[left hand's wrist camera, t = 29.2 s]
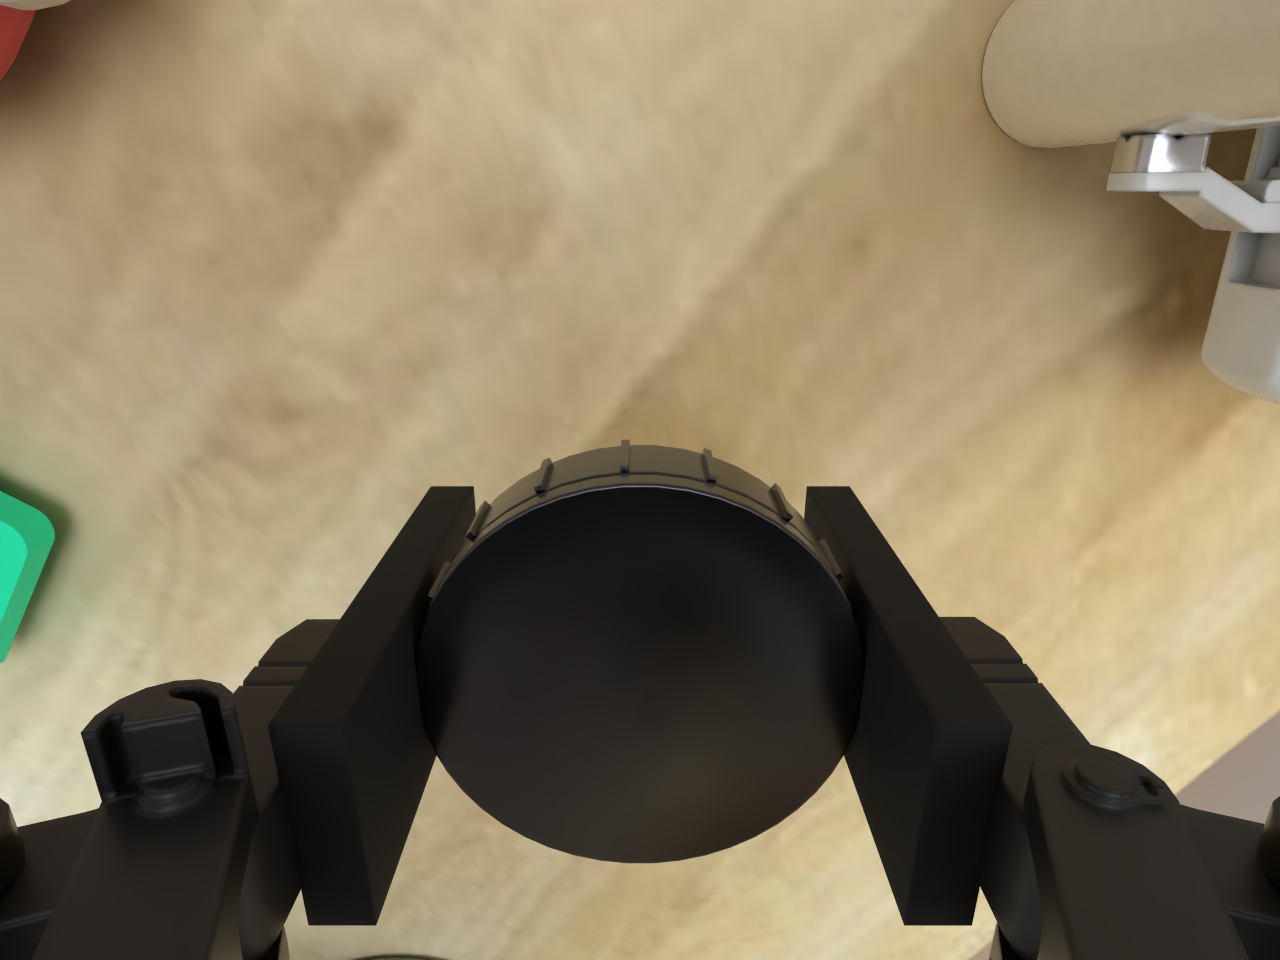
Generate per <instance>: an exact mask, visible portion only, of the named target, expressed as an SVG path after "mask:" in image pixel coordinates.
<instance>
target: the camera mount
mask: <svg viewBox="0 0 1280 960" xmlns="http://www.w3.org/2000/svg"><path fill="white" fill-rule="evenodd" d="M54 539H55V532H54V528H53V526H52V524H51V522H50V520H49V519H48V518H47V517H46V516H45V515H44V514H43V513H42V512H40V511H39V510H37V509H36V508H34V507H32V506H30V505H28V504H26V503H24V502H22V501H20V500H18V499H16V498H13V497H11V496H9V495H7V494H5V493H3V492H1V491H0V663H2V662H3V661H4V660H5V659H6V656H7V654H8V651H9V649H10V647H11V644H12V642H13V639H14V637H15V634H16V632H17V630H18V627H19V625H20V622H21V620H22V618H23V615H24V613H25V610H26V608H27V605H28V603H29V601H30V598H31V596H32V593H33V591H34V588H35V586H36V584H37V581H38V579H39V576H40V574H41V572H42V569H43V567H44V564H45V562H46V559H47V557H48V555H49V552H50V550H51V547H52V545H53V542H54Z"/></svg>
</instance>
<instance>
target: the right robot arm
mask: <svg viewBox="0 0 1280 960" xmlns="http://www.w3.org/2000/svg"><path fill="white" fill-rule="evenodd" d="M1211 136H1212V134H1195V135H1184V136H1172V135H1164V134H1151V135H1136V136H1132V137H1117V139H1116V143H1115V148H1114V153H1113V157H1112V162H1111V167H1110V171H1109V173H1110V174H1109V176H1108V182H1107V187H1106V191H1146V192H1156V191H1160V192H1159V196H1160V197H1161V198H1163V199H1164V200H1166V201H1167V202H1168V203H1170V204H1171V205H1172V206H1174V207H1175V208H1176V209H1178V210H1179V211H1180V212H1182V213H1183V214H1184V215H1186V216H1187V217H1188V218H1190V219H1191V220H1192V221H1194V222H1195V223H1197V224H1198V225H1199V226H1201V227H1202V228H1203V229H1210V230H1224V231H1231V235H1230V239H1229V243H1228V247H1227V251H1226V255H1225V259H1224V263H1223V267H1222V271H1221V275H1220V279H1219V283H1218V287H1217V291H1216V295H1215V299H1214V303H1213V307H1212V311H1211V315H1210V319H1209V323H1208V327H1207V331H1206V334H1205V338H1204V342H1203V346H1202V351H1201V360H1202V363H1203V365H1204V366H1205V367H1206V368H1207V369H1208V370H1209V371H1210V372H1211V373H1212V374H1213V375H1214V376H1215V377H1216V378H1217V379H1218V380H1219V381H1220V382H1222V383H1223V384H1224V385H1225V386H1227V387H1229V388H1231V389H1234V390H1236V391H1238V392H1241V393H1244V394H1247V395H1249V396H1252V397H1256V398H1259V399H1262V400H1266V401H1269V402H1273V403H1277V404H1280V126H1279V127H1269V128H1258V129H1257V130H1256V134H1255V138H1254V142H1253V146H1252V150H1251V154H1250V158H1249V163H1248V167H1247V171H1246V175H1245V179H1244V180H1237V181H1228V180H1226V179H1225V178H1223V177H1222V176H1220V175H1219V174H1217V173H1216V172H1214V171H1213V170H1211V169H1210V168H1208V167H1207V166H1205V165H1206V160H1207V155H1208V150H1209V145H1210V141H1211Z"/></svg>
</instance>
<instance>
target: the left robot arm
mask: <svg viewBox="0 0 1280 960" xmlns="http://www.w3.org/2000/svg"><path fill="white" fill-rule="evenodd" d="M475 516H476V510H475V497H474V486H431V487H430V489H429V490H428V492H427V493H426V495H425V496H424V498H423V499H422V500H421V502H420V503H419V505H418V506H417V508H416V509H415V511H414V512H413V514H412V515H411V517H410V518H409V519H408V521H407V522H406V524H405V525H404V527H403V528H402V530H401V531H400V533H399V534H398V536H397V537H396V538H395V540H394V541H393V543H392V544H391V546H390V547H389V549H388V550H387V552H386V553H385V555H384V556H383V558H382V559H381V560H380V562H379V563H378V565H377V566H376V568H375V569H374V571H373V572H372V574H371V575H370V577H369V578H368V579H367V581H366V582H365V584H364V585H363V587H362V588H361V590H360V591H359V593H358V594H357V596H356V597H355V598H354V600H353V601H352V603H351V604H350V606H349V607H348V609H347V610H346V612H345V613H344V615H343V616H342V617H341V619H307V620H305V621H303V622H302V623H300V624H299V625H297V626H296V627H294V628H293V629H291V630H290V631H288V632H287V633H285V634H284V635H282V636H281V637H279V638H278V639H276V641H275V642H274V643H273V644H272V646H271V647H270V648H269V649H268V651H267V652H266V653H265V654H264V656H263V657H262V658H261V659H260V661H259V665H258V666H255V667H254V668H253V670H252V671H251V672H250V673H249V675H248V676H247V677H246V678H245V680H244V681H243V682H244V683H243V686H239V687H238V688H237V690H236V691H235V692H234V694H233V693H232V692H231V691H230V690H228V689H227V688H226V687H225V686H223V685H222V684H221V683H216V682H211V681H207V680H202V679H197V680H180V681H172V682H168V683H164V684H160V685H156V686H152V687H148V688H145V689H143V690H140V691H138V692H136V693H133V694H131V695H129V696H127V697H124V698H122V699H120V700H118V701H116V702H115V703H113V704H112V705H110V706H109V707H107V708H106V709H104V710H103V711H101V712H100V713H98V714H97V715H96V716H95V717H94V718H93V719H92V720H91V721H90V722H89V724H88V725H87V726H86V727H85V728H84V730H83V731H82V732H81V735H82V739H83V742H84V745H85V748H86V751H87V755H88V758H89V761H90V764H91V768H92V771H93V774H94V777H95V781H96V784H97V787H98V790H99V793H100V797H101V800H102V803H101V805H100V807H99V808H98V809H95V810H91V811H88V812H84V813H80V814H75V815H71V816H66V817H62V818H57V819H53V820H48V821H44V822H39V823H35V824H30V825H25V826H21V827H17V826H16V823H15V820H14V818H13V815H12V812H11V809H10V807H9V805H8V804H7V803H6V802H5V801H3V800H2V799H1V798H0V960H289V951H288V943H287V937H286V933H285V928H284V923H285V921H286V919H287V917H288V915H289V913H290V911H291V909H292V907H293V905H294V902H295V900H296V898H297V896H298V894H299V892H300V890H302V895H303V900H304V905H305V910H306V915H307V920H308V924H309V925H376V924H377V922H378V919H379V916H380V913H381V910H382V907H383V905H384V902H385V899H386V896H387V893H388V891H389V888H390V885H391V882H392V879H393V876H394V874H395V871H396V868H397V865H398V862H399V859H400V857H401V854H402V851H403V848H404V845H405V843H406V840H407V837H408V834H409V831H410V828H411V826H412V823H413V820H414V817H415V814H416V812H417V809H418V806H419V803H420V800H421V797H422V795H423V792H424V789H425V786H426V783H427V780H428V778H429V775H430V772H431V769H432V766H433V764H434V761H435V758H436V753H435V751H434V749H433V747H432V745H431V742H430V740H429V738H428V736H427V733H426V731H425V729H424V725H423V722H422V718H421V711H420V704H419V696H418V687H417V678H416V668H415V654H416V649H417V644H418V639H419V633H420V629H421V626H422V623H423V620H424V618H425V615H426V612H427V609H428V607H429V604H430V603H429V602H426V598H427V596H428V594H429V592H430V590H431V588H432V586H433V584H434V582H435V580H436V578H437V576H438V574H439V572H440V570H441V568H442V566H443V564H444V562H445V561H449V562H451V560H452V558H453V556H454V554H455V552H456V550H457V548H458V547H459V545H460V543H461V541H462V539H463V538H464V536H465V534H466V532H467V531H468V530H469V528H470V526H471V524H472V522H473V520H474V518H475ZM804 520H805V522H806V523H807V524H808V526H809V527H810V528H811V529H812V531H813V532H814V533H815V535H816V537H817V539H818V541H820V540H822V539H825V541H826V543H827V544H828V546H829V548H830V550H831V552H832V554H833V556H834V558H835V560H836V562H837V564H838V566H839V568H840V570H841V572H842V574H843V576H844V578H842V579H840V580H839V582H840V584H841V586H842V588H843V590H844V592H845V594H846V596H847V598H848V600H849V602H850V604H851V606H852V609H853V612H854V614H855V617H856V620H857V623H858V625H859V628H860V632H861V638H862V643H863V648H864V653H865V674H864V683H863V692H862V700H861V708H860V715H859V719H858V723H857V726H856V730H855V732H854V734H853V736H852V738H851V741H850V743H849V745H848V747H847V750H846V752H845V753H844V757H845V759H846V762H847V765H848V768H849V771H850V773H851V776H852V779H853V782H854V785H855V788H856V790H857V793H858V796H859V799H860V802H861V805H862V807H863V810H864V813H865V816H866V819H867V821H868V824H869V827H870V830H871V833H872V836H873V838H874V841H875V844H876V847H877V850H878V852H879V855H880V858H881V861H882V864H883V867H884V869H885V872H886V875H887V878H888V881H889V883H890V886H891V889H892V892H893V895H894V898H895V900H896V903H897V906H898V909H899V912H900V915H901V917H902V920H903V923H904V925H972V922H973V917H974V912H975V907H976V903H977V898H978V893H979V888H980V887H981V889H982V891H983V893H984V895H985V897H986V899H987V901H988V904H989V906H990V908H991V910H992V912H993V914H994V916H995V918H996V920H997V924H996V928H995V933H994V937H993V942H992V946H991V951H990V955H989V960H1280V797H1278V798H1277V799H1276V800H1274V801H1273V803H1272V806H1271V809H1270V811H1269V814H1268V817H1267V820H1266V822H1265V824H1262V823H1257V822H1253V821H1248V820H1243V819H1239V818H1234V817H1230V816H1225V815H1221V814H1216V813H1212V812H1207V811H1202V810H1198V809H1194V808H1191V807H1187V806H1184V805H1180V803H1179V801H1178V800H1177V798H1176V797H1175V795H1174V794H1173V793H1172V791H1171V790H1170V789H1169V787H1168V786H1167V784H1166V783H1165V782H1164V781H1163V780H1162V779H1160V778H1159V777H1158V776H1156V775H1155V774H1154V773H1153V772H1151V771H1150V770H1149V769H1147V768H1146V767H1145V766H1144V765H1142V764H1140V763H1138V762H1136V761H1134V760H1132V759H1130V758H1128V757H1126V756H1124V755H1122V754H1120V753H1118V752H1115V751H1111V750H1108V749H1104V748H1101V747H1097V746H1094V745H1091V744H1090V743H1089V742H1088V741H1087V739H1086V738H1085V737H1084V736H1083V734H1082V733H1081V732H1080V731H1079V729H1078V728H1077V727H1076V726H1075V724H1074V723H1073V722H1072V721H1071V719H1070V718H1069V717H1068V716H1067V714H1066V713H1065V712H1064V711H1063V709H1062V708H1061V707H1060V706H1059V704H1058V703H1057V702H1056V701H1055V699H1054V698H1053V697H1052V696H1051V694H1050V693H1049V692H1048V691H1047V689H1046V688H1045V687H1044V686H1043V684H1042V683H1038V678H1037V677H1036V676H1035V674H1034V673H1033V672H1032V670H1031V669H1030V668H1029V667H1028V665H1027V664H1023V662H1022V660H1023V659H1022V658H1021V657H1020V655H1019V654H1018V653H1017V652H1016V650H1015V649H1014V648H1013V647H1012V645H1011V644H1010V643H1009V642H1008V640H1007V639H1006V638H1005V637H1004V636H1003V635H1001V634H1000V633H998V632H997V631H995V630H994V629H992V628H991V627H989V626H987V625H986V624H984V623H983V622H981V621H980V620H978V619H977V618H975V617H938V615H937V614H936V612H935V611H934V609H933V608H932V606H931V605H930V604H929V602H928V601H927V599H926V598H925V596H924V595H923V593H922V592H921V590H920V589H919V587H918V586H917V585H916V583H915V582H914V580H913V579H912V577H911V576H910V574H909V573H908V571H907V570H906V568H905V567H904V566H903V564H902V563H901V561H900V560H899V558H898V557H897V555H896V554H895V552H894V551H893V549H892V548H891V547H890V545H889V544H888V542H887V541H886V539H885V538H884V536H883V535H882V533H881V532H880V530H879V529H878V528H877V526H876V525H875V523H874V522H873V520H872V519H871V517H870V516H869V514H868V513H867V511H866V510H865V509H864V507H863V506H862V504H861V503H860V501H859V500H858V498H857V497H856V495H855V494H854V492H853V491H852V490H851V488H850V487H849V486H807V491H806V503H805V516H804ZM371 960H425V959H415V958H380V959H371Z"/></svg>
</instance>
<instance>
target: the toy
mask: <svg viewBox="0 0 1280 960" xmlns="http://www.w3.org/2000/svg"><path fill="white" fill-rule="evenodd" d="M68 1H70V0H0V81H1V79H2V78H3V76H4V75H5V73H6V72H7V70H8V69H9V68H10V66H11V65H12V63H13V62H14V60H15V58H16V56H17V54H18V51H19V49H20V47H21V45H22V42H23V40H24V38H25V36H26V33H27V31H28V29H29V27H30V25H31V22H32V20H33V18H34V15H35V10H39V9H43V8H48V7H53V6H58V5H62V4H65V3H66V2H68Z"/></svg>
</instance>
